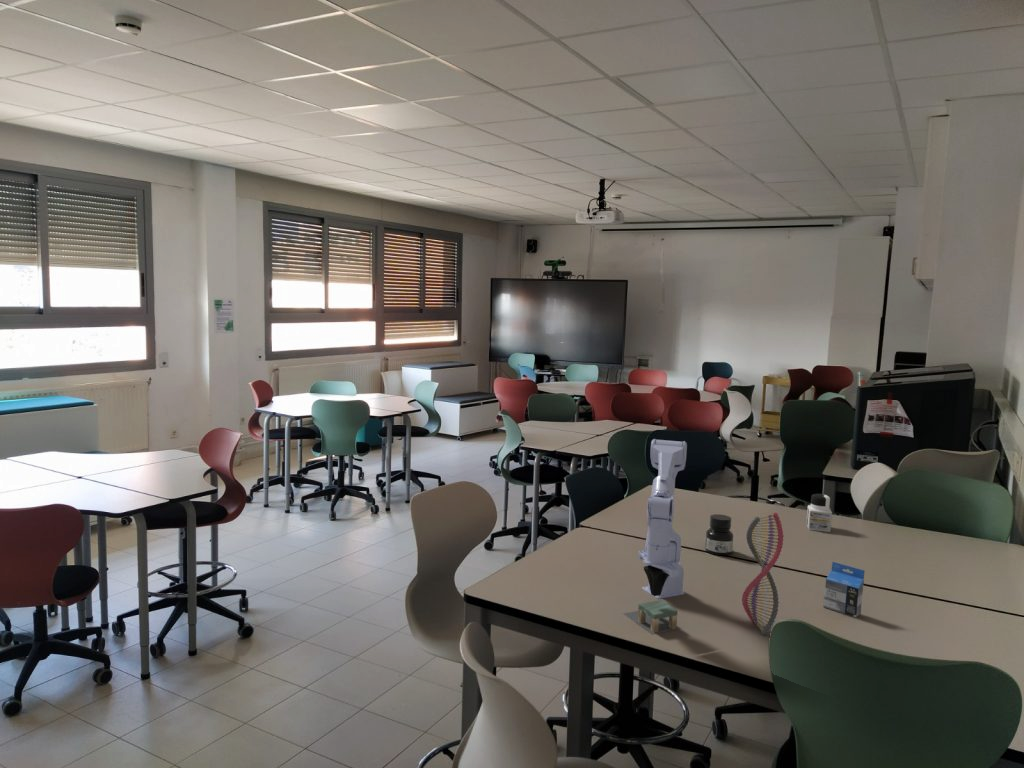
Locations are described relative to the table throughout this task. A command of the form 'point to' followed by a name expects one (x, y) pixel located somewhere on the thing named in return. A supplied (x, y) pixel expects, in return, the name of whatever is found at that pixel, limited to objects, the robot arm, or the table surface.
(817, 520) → the container
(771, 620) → the dna model
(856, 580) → the ink cartridge box
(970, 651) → the table surface
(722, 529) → the ink bottle
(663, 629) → the mat
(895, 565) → the table surface
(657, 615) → the stool
